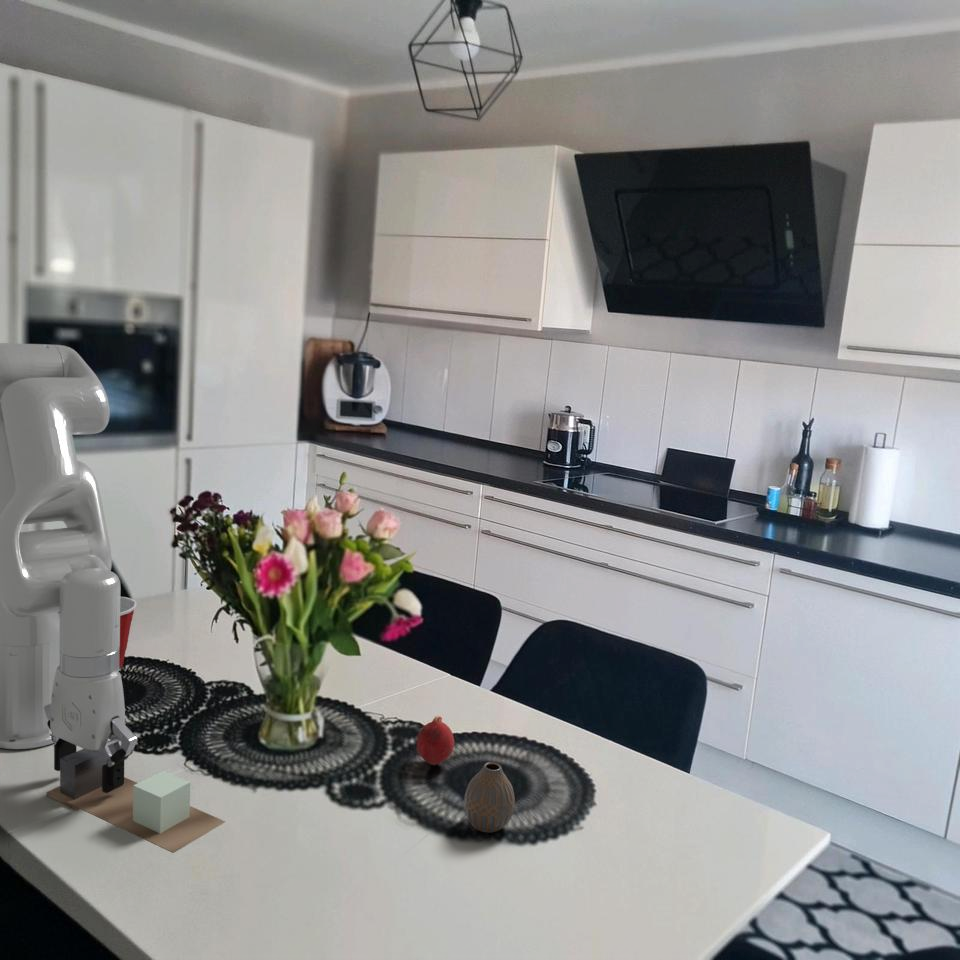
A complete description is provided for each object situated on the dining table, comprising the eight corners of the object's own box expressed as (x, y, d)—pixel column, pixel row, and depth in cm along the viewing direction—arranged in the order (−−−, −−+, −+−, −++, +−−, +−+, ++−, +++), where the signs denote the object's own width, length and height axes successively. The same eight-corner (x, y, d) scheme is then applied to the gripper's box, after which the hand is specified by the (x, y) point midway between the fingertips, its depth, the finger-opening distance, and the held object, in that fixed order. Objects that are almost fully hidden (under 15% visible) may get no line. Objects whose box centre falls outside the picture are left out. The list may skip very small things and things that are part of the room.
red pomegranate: (447, 777, 145) (451, 727, 143) (410, 770, 146) (414, 721, 144) (455, 759, 150) (459, 712, 149) (420, 753, 151) (424, 706, 150)
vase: (518, 819, 134) (523, 761, 133) (503, 843, 128) (509, 783, 126) (472, 807, 136) (477, 750, 135) (455, 830, 130) (460, 771, 128)
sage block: (132, 820, 125) (133, 785, 124) (162, 804, 129) (163, 770, 128) (160, 833, 123) (160, 797, 122) (189, 816, 127) (190, 782, 126)
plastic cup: (70, 658, 176) (71, 596, 174) (132, 654, 181) (133, 593, 179) (73, 681, 167) (73, 616, 165) (138, 676, 171) (139, 612, 169)
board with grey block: (46, 795, 130) (46, 758, 129) (101, 770, 138) (101, 734, 137) (173, 856, 119) (174, 815, 118) (225, 824, 127) (226, 786, 126)
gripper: (23, 652, 130) (24, 769, 133) (111, 686, 122) (109, 809, 125) (70, 638, 136) (70, 749, 140) (157, 668, 128) (154, 786, 131)
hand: (88, 777), depth 132 cm, fingers open, 9 cm apart
